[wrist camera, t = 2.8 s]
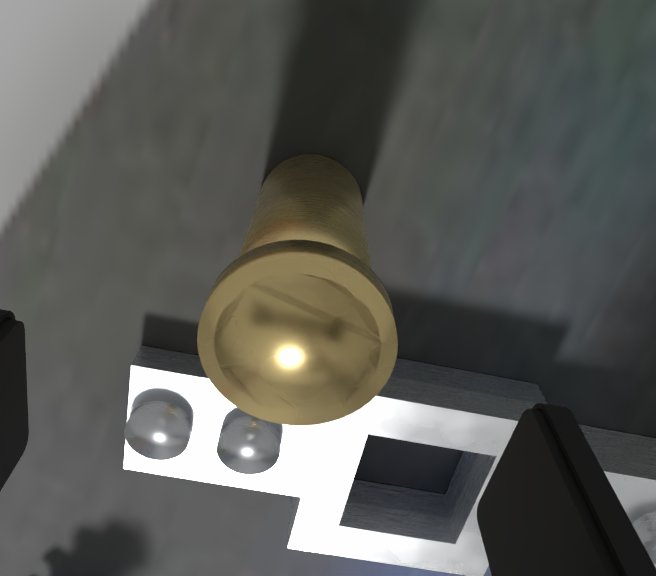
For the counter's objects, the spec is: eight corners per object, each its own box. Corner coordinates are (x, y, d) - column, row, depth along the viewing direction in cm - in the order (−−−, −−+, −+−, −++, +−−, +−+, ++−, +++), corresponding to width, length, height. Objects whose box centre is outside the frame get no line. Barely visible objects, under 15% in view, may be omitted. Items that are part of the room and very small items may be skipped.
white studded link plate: (702, 414, 28) (750, 471, 25) (613, 550, 32) (644, 613, 29) (144, 310, 25) (116, 359, 22) (130, 472, 30) (106, 532, 27)
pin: (386, 158, 22) (422, 280, 13) (356, 270, 24) (369, 439, 16) (259, 130, 22) (210, 238, 13) (240, 247, 24) (187, 407, 15)
